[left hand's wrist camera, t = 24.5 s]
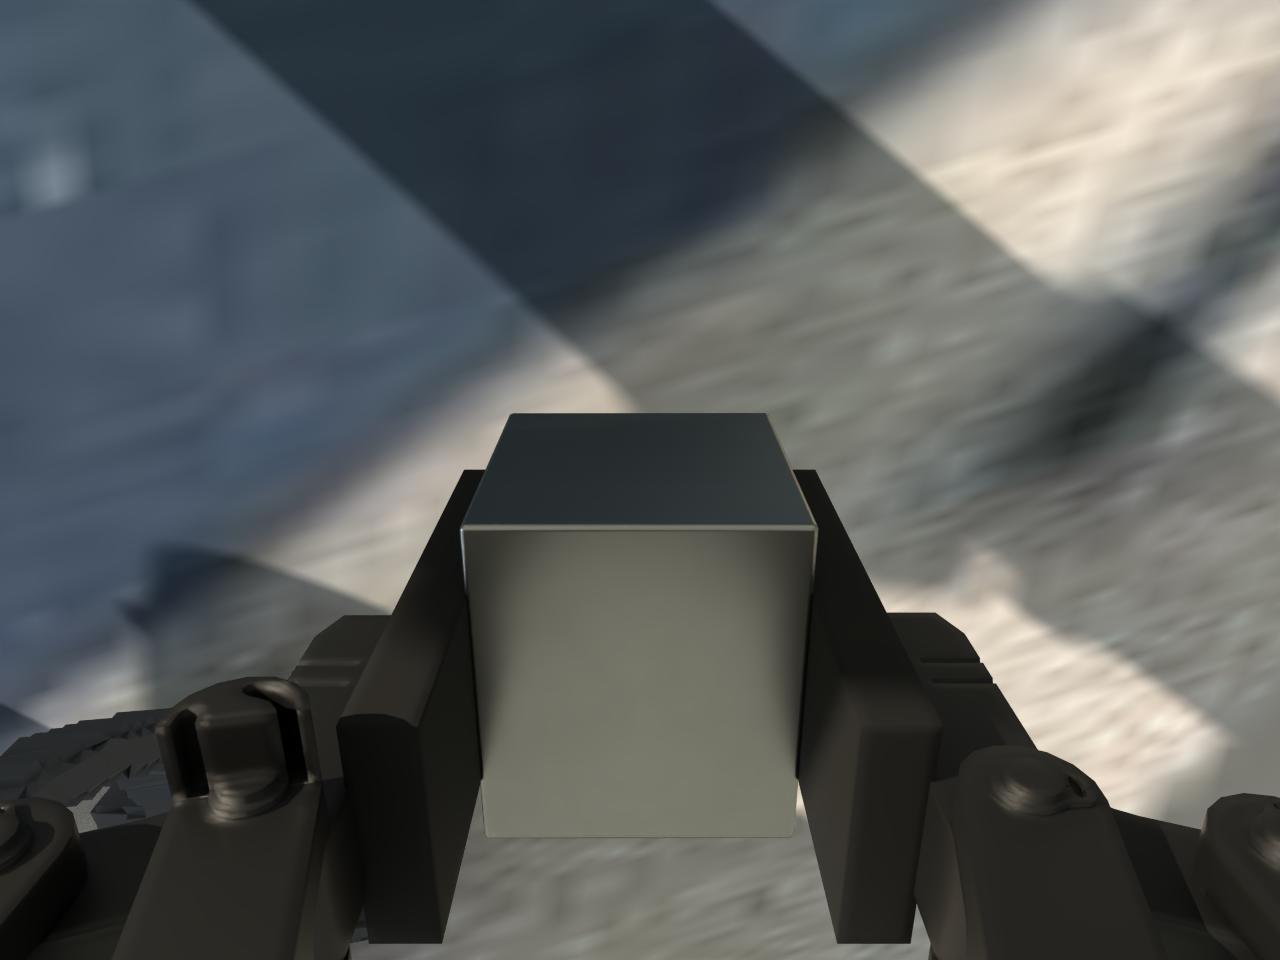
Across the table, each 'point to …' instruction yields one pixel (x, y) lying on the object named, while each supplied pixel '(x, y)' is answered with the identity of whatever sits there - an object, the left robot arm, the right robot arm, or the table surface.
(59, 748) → the toy
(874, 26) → the table surface
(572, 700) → the grey block
